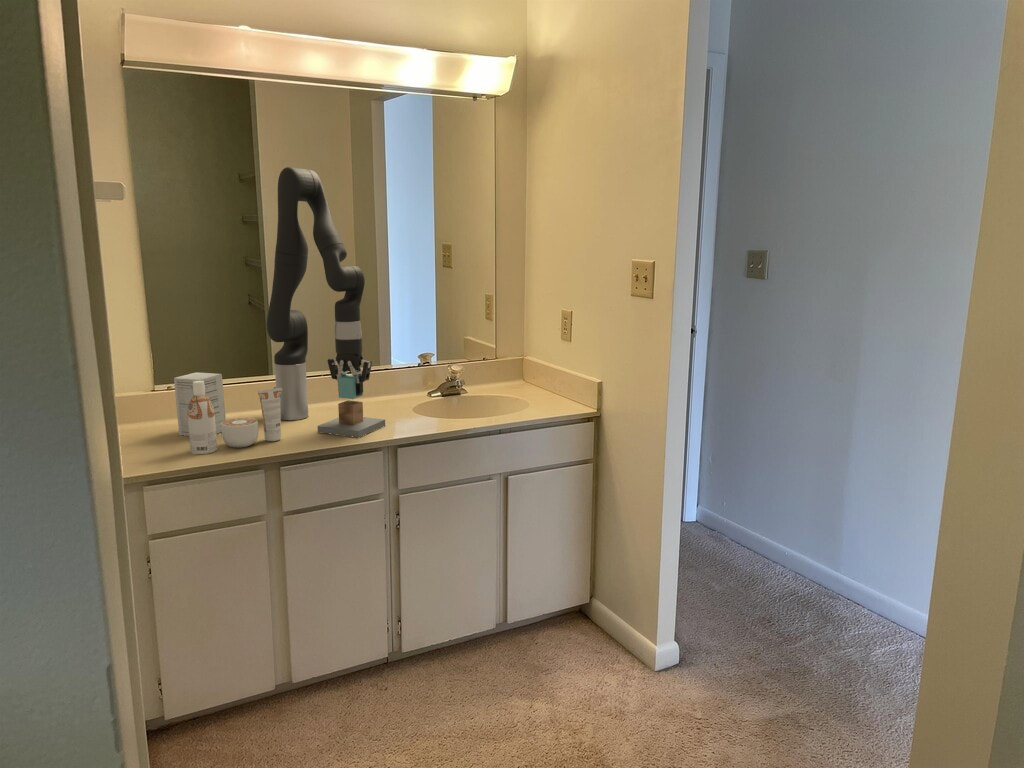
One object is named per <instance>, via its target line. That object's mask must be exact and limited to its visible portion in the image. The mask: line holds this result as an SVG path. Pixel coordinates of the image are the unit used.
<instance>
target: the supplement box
mask: <svg viewBox="0 0 1024 768" xmlns="http://www.w3.org/2000/svg"><path fill="white" fill-rule="evenodd" d="M194 381H204V385H205V394H206V395H207V397H208V398H209V399H210V400H211V402H212V404H213V406H214V413H215V425H216V435H217V434H220V433H222V429H221V423H222V422H223V421H226V420H227V417H226V407H225V396H224V395H225V394H224V384H223V375H222V373H212V372H211V373H210V372H192V373H189V374H184V375H180V376H176V377H174V378H173V384H174V392H175V393H174V394H175V402H176V403H175V404H176V413H177V423H178V433H179V436H182V435H184V437H189V426H188V415H187V409H188V404H189V402H190V400H191V399H192V397H193V395H194V391H193V382H194Z"/></svg>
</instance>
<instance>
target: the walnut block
mask: <svg viewBox="0 0 1024 768" xmlns="http://www.w3.org/2000/svg"><path fill="white" fill-rule="evenodd" d="M363 403H364V402H363V401H359V400H352V399H349V400H345V401H342V402H340V403H338V404H337V407H338V418H339V424H345V425H356V424H358V423H361V422H363V417H364V408H363V407H364V405H363Z"/></svg>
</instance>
